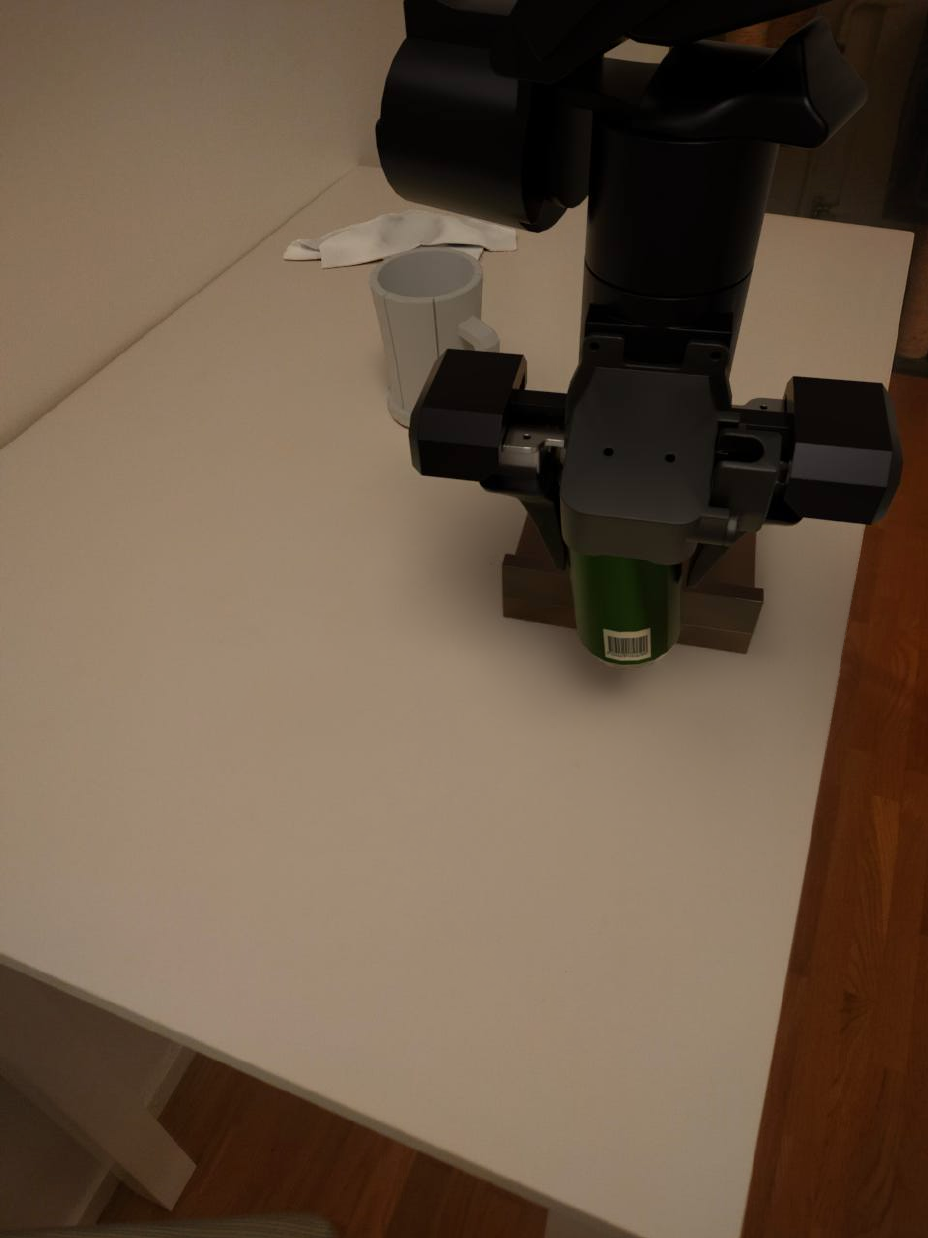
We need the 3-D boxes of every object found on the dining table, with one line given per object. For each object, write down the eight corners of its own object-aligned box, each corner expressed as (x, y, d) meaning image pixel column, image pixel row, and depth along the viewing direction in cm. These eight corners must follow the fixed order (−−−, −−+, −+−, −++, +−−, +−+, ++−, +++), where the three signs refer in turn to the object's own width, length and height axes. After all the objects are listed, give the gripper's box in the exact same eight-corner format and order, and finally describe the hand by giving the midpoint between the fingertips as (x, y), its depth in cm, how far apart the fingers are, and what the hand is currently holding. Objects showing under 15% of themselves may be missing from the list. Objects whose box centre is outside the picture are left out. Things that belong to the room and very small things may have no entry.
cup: (512, 378, 74) (510, 246, 65) (500, 440, 68) (496, 305, 59) (399, 374, 76) (382, 245, 67) (378, 434, 70) (356, 301, 61)
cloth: (525, 217, 96) (525, 196, 94) (510, 274, 87) (510, 253, 85) (312, 213, 100) (308, 193, 98) (277, 267, 91) (272, 247, 89)
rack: (752, 510, 61) (767, 456, 57) (746, 654, 52) (763, 602, 49) (540, 485, 64) (541, 432, 61) (502, 617, 56) (501, 565, 52)
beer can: (692, 665, 41) (697, 479, 32) (585, 681, 42) (562, 502, 33) (669, 589, 45) (668, 403, 36) (571, 604, 45) (547, 425, 37)
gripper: (335, 364, 25) (395, 673, 37) (1010, 422, 21) (836, 744, 33) (429, 206, 32) (454, 509, 44) (950, 229, 28) (824, 552, 40)
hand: (625, 572), depth 40 cm, fingers closed on beer can, 6 cm apart
